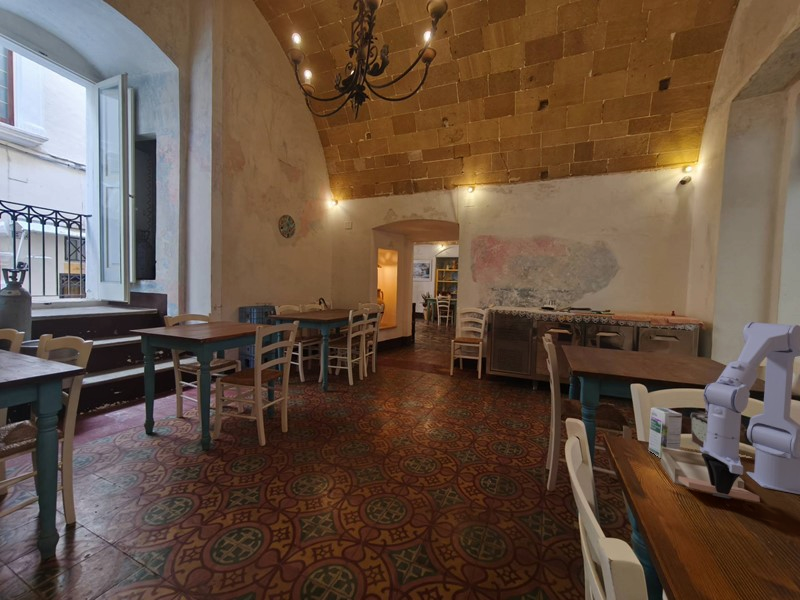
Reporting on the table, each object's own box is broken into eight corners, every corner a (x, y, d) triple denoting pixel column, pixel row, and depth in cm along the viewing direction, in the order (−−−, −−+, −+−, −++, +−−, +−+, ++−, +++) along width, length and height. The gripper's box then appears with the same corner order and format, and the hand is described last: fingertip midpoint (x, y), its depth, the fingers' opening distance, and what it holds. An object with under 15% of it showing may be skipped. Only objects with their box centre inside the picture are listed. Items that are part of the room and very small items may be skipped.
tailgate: (743, 488, 84) (759, 496, 78) (743, 497, 84) (760, 505, 78) (678, 475, 89) (688, 482, 83) (678, 484, 89) (689, 491, 83)
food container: (736, 458, 106) (738, 427, 105) (713, 456, 107) (715, 425, 107) (709, 441, 118) (710, 413, 117) (689, 439, 119) (690, 411, 119)
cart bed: (720, 474, 96) (721, 456, 96) (743, 497, 85) (744, 477, 85) (660, 463, 101) (661, 446, 101) (674, 483, 90) (675, 465, 90)
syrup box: (647, 451, 109) (649, 407, 108) (664, 451, 109) (666, 407, 109) (662, 460, 103) (664, 413, 103) (680, 460, 104) (682, 413, 103)
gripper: (690, 421, 90) (687, 471, 90) (715, 441, 76) (711, 501, 77) (724, 426, 87) (721, 478, 87) (757, 448, 74) (753, 510, 74)
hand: (719, 489), depth 82 cm, fingers closed, pressing on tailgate
